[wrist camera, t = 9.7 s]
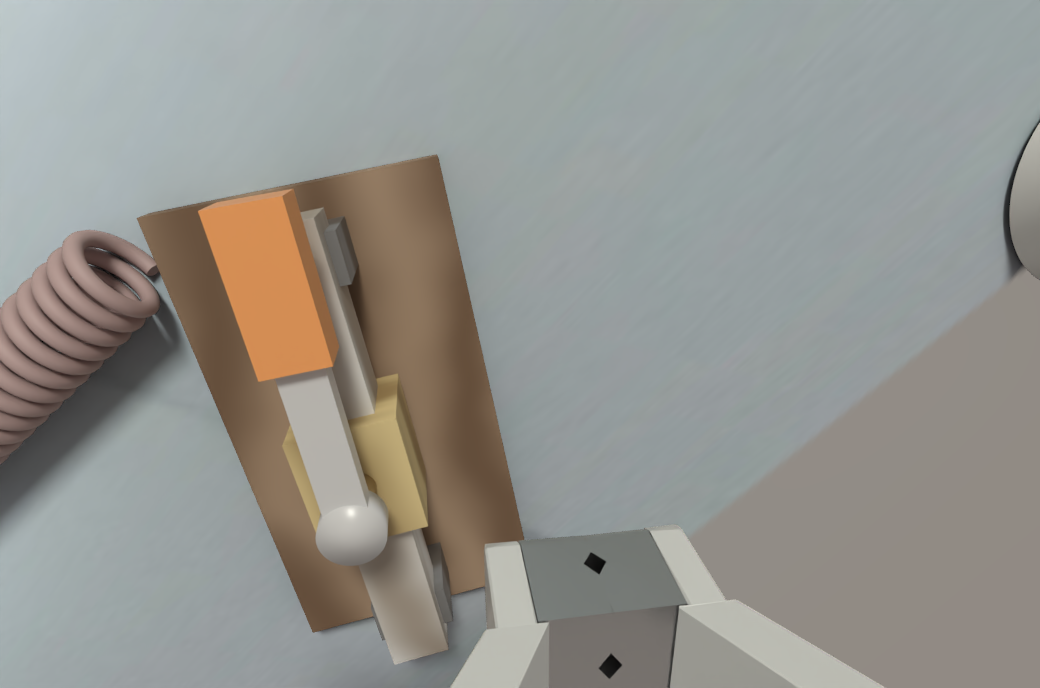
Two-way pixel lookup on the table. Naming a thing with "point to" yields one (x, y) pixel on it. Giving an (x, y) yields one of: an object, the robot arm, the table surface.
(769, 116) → the table surface
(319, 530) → the valve lever
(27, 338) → the coil
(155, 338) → the table surface
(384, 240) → the valve stand
